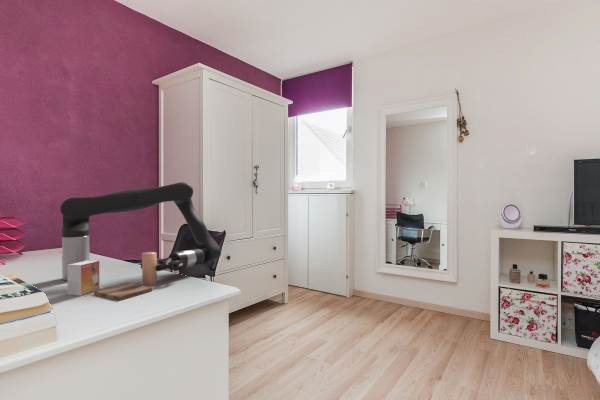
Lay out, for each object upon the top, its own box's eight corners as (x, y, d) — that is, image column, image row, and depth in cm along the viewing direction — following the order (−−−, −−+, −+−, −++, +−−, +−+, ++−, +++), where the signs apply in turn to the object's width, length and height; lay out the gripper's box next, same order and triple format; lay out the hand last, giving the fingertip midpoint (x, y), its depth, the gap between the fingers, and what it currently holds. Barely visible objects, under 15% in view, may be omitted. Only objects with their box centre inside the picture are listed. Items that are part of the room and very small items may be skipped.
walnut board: (94, 294, 110) (94, 291, 110) (127, 285, 121) (127, 282, 121) (119, 300, 104) (119, 296, 104) (152, 290, 114) (152, 287, 114)
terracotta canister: (139, 285, 121) (139, 253, 121) (151, 282, 126) (150, 251, 126) (148, 287, 119) (147, 254, 119) (159, 283, 123) (159, 252, 123)
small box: (81, 296, 108) (80, 265, 108) (67, 295, 110) (66, 264, 109) (100, 289, 116) (99, 260, 116) (87, 288, 117) (86, 259, 117)
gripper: (170, 249, 140) (136, 255, 125) (194, 252, 133) (161, 259, 119) (170, 267, 140) (136, 275, 125) (194, 270, 133) (161, 279, 119)
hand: (148, 267), depth 122 cm, fingers open, 8 cm apart
